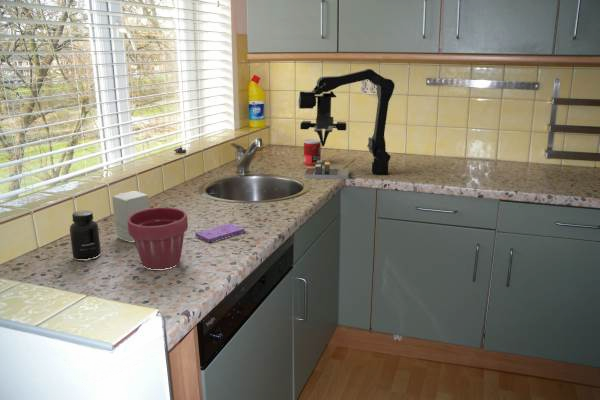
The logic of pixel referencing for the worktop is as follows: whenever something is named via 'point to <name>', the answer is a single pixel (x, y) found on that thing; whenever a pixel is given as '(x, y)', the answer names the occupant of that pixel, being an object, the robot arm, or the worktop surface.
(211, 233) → the sponges
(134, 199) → the supplement box
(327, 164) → the breaker handle
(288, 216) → the worktop surface
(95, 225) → the supplement bottle
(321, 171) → the breaker panel
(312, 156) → the canned food
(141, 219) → the plant pot
